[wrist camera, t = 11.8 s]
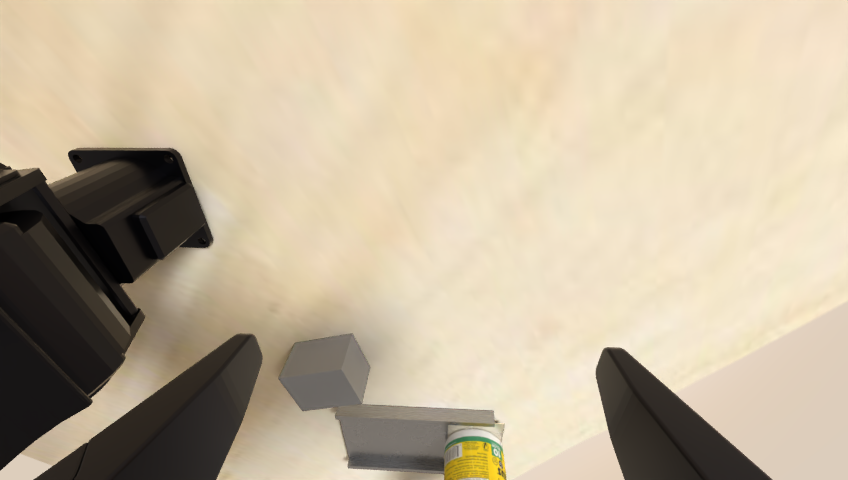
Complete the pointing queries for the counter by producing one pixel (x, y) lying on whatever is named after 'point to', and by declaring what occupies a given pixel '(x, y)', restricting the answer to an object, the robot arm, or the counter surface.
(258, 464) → the counter surface
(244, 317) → the counter surface
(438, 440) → the grey flat tray
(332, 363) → the block
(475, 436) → the supplement bottle
